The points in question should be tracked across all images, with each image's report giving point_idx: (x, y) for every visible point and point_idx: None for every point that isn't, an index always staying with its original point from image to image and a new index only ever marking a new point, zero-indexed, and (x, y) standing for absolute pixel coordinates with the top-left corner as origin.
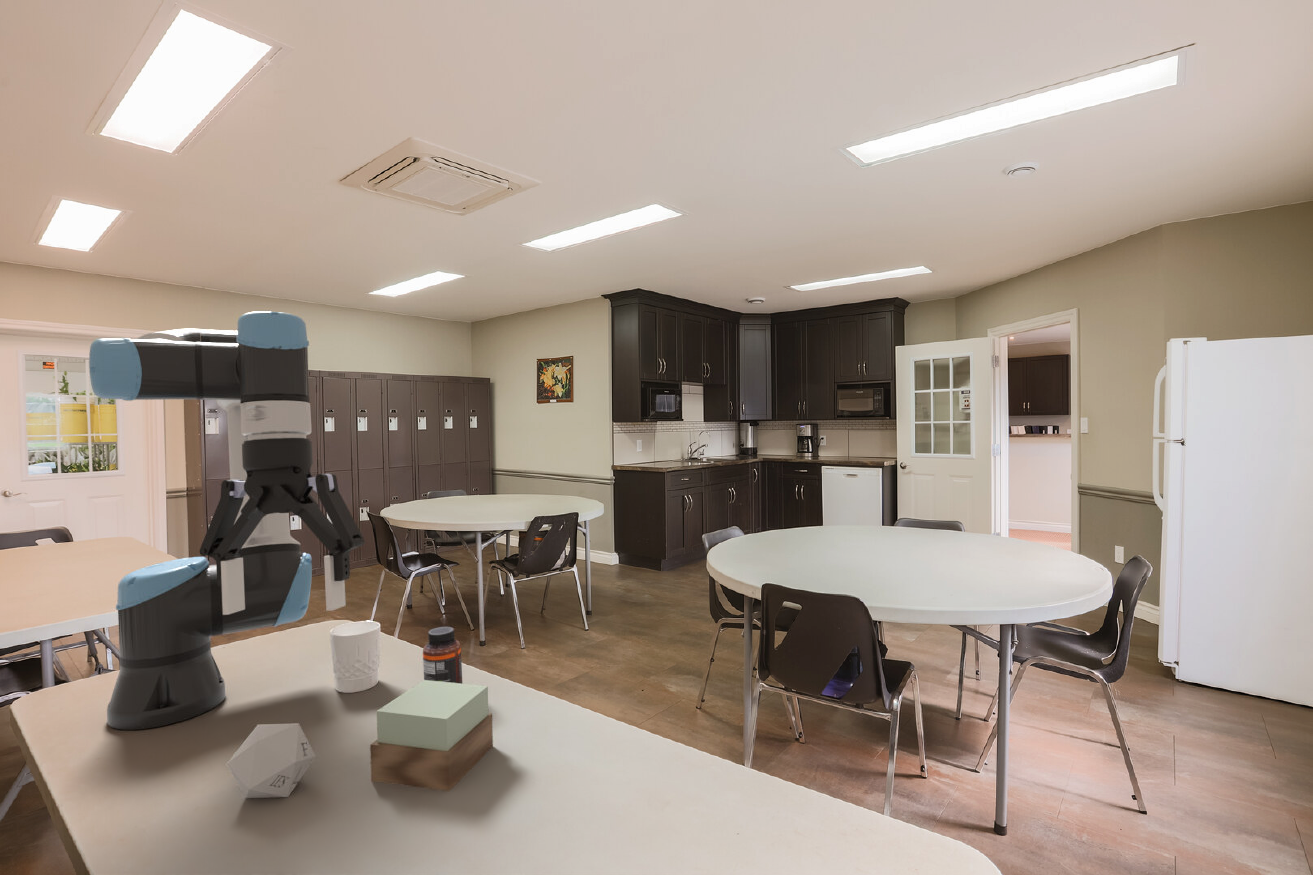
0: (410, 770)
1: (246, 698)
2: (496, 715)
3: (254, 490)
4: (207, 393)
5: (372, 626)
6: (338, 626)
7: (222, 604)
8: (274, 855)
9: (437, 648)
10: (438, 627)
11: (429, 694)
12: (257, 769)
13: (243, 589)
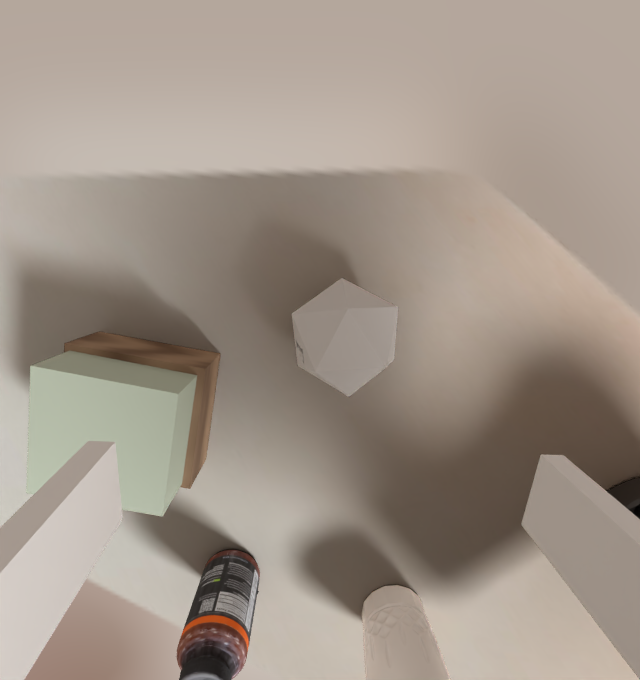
0: (148, 347)
1: (542, 567)
2: (128, 522)
3: None
4: None
5: None
6: None
7: (593, 480)
8: (250, 190)
9: (205, 641)
10: None
11: (117, 458)
12: (337, 291)
13: (578, 594)
